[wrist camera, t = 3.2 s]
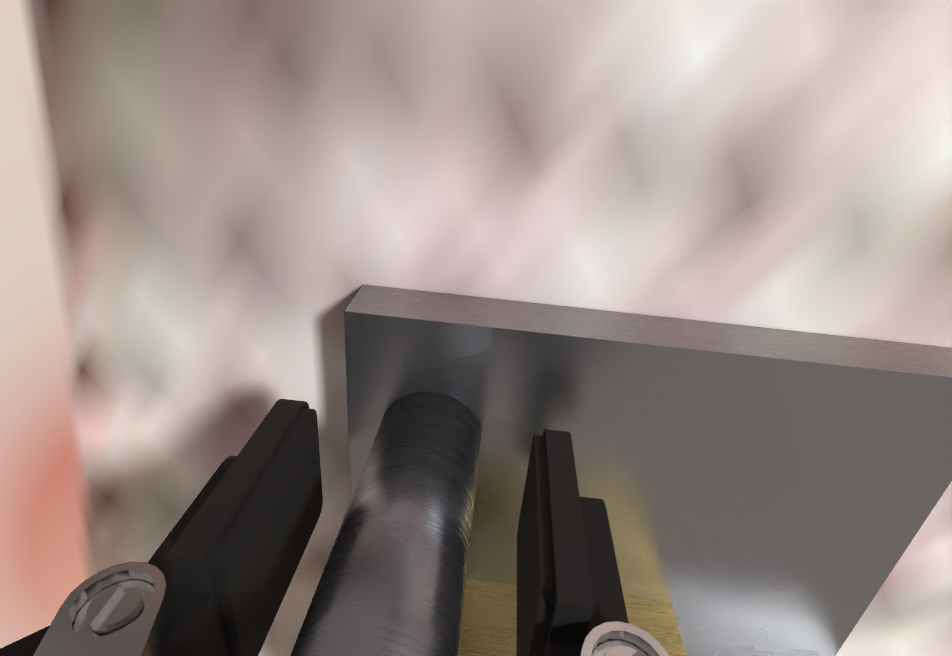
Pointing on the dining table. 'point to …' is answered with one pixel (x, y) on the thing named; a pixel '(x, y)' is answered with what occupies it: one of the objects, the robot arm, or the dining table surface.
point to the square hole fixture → (676, 457)
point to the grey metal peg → (402, 539)
